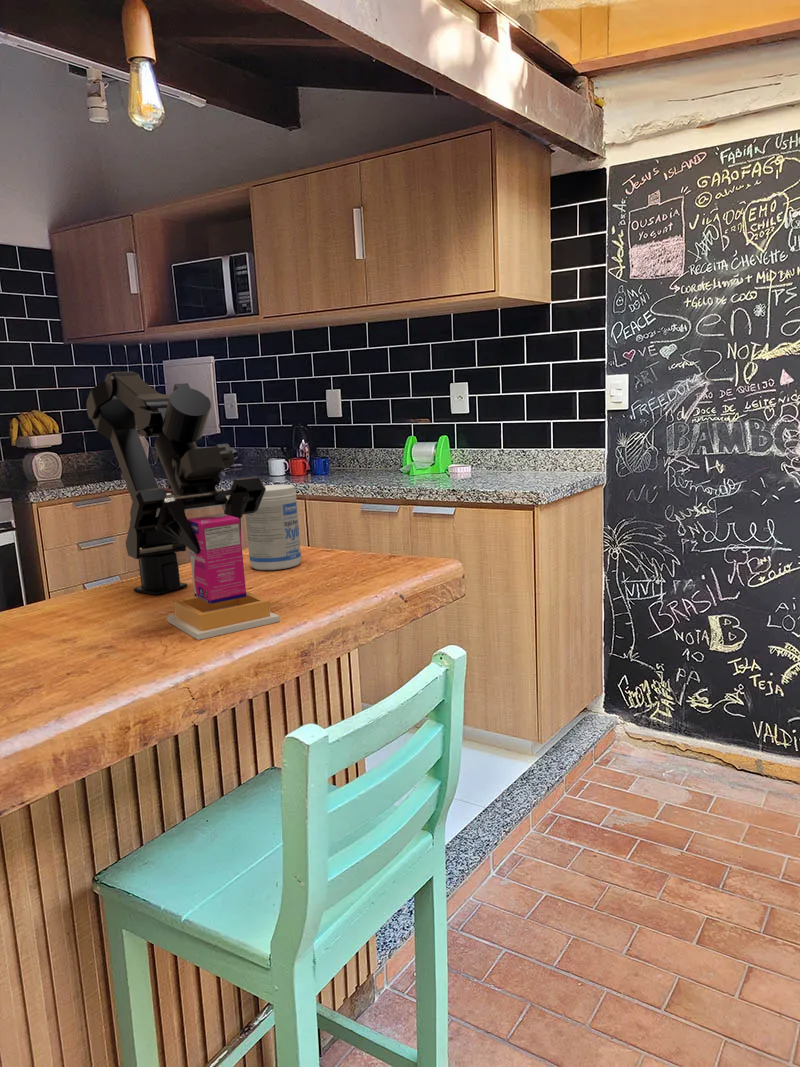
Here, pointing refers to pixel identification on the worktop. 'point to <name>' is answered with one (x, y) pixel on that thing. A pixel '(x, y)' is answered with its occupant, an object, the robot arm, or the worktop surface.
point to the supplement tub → (274, 530)
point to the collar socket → (221, 615)
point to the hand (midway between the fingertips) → (219, 548)
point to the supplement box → (218, 559)
